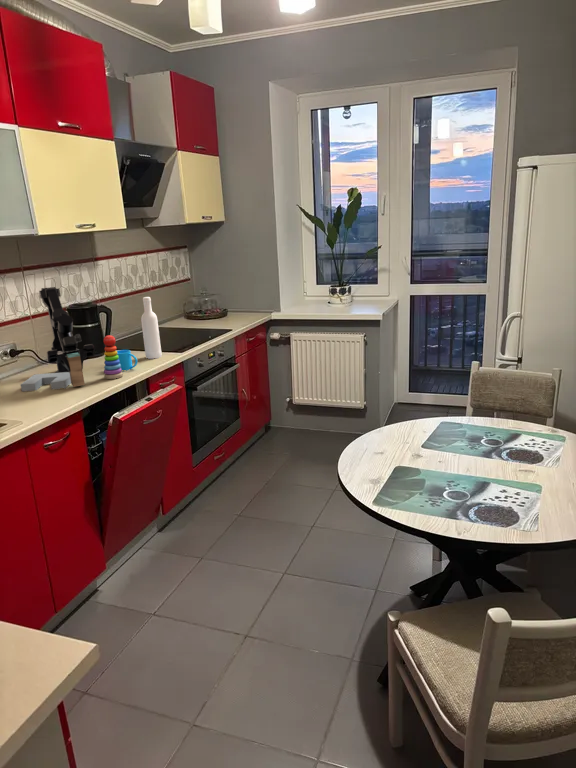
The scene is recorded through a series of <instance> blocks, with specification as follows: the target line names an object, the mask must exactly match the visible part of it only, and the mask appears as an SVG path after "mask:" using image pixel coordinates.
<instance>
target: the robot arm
mask: <svg viewBox="0 0 576 768" xmlns="http://www.w3.org/2000/svg"><path fill="white" fill-rule="evenodd" d="M60 290H61V289H60V288H57V287H56V286H53V287H52V286H51V287H42V288H41V290H39V291H38V294H39V298H40V300H41V301H42V304H43V305H44V306H45V307H46V308H47V311H48V312H47V313H48V316H49V321H50V325H51V326H50V327H51V330H52V336H53V340H52V343H51V348H50V349H51V350H50V349H49V350H47V352H46V359H47V363H49V364H52V363H56V368H57V370H55V372H54V373H63V372H70V371H71V370H70V366H69V364H68V361H67V356H66V354H72V353H79V354H80V359H81V365H82V370H83V369H84V360H86V359H87V358H90V357H94V356H95V351H96V350H95V345H94V344H93V343H90V344H85V345H83V348H80V349H79V346H78V343H81V342H82V336H81V334H80V333H77V334H74V335H73V325H74V322H75V320H74V319H73V317H71V315H69V314H68V311H66V310H64V308H63V305H62V303H61V299H60V297H61V291H60Z"/></svg>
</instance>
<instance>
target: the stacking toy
mask: <svg viewBox="0 0 576 768" xmlns="http://www.w3.org/2000/svg"><path fill="white" fill-rule="evenodd" d="M116 342H117V341H116V338H115V336H114V335H105V337H103V344H104V345H105V347H104V353H103V355H104V358H103V359H104V366H103V368H104V370H103V373H104V374H103V377H104V379H106V380H116V378H117V379H120V378H122V377H123V376H124V373H123V371H122V369H121V368H120V367H121V364H120V361H119V359H118V358H119V356H118V355H117V351H118V350H117V346H116Z"/></svg>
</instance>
